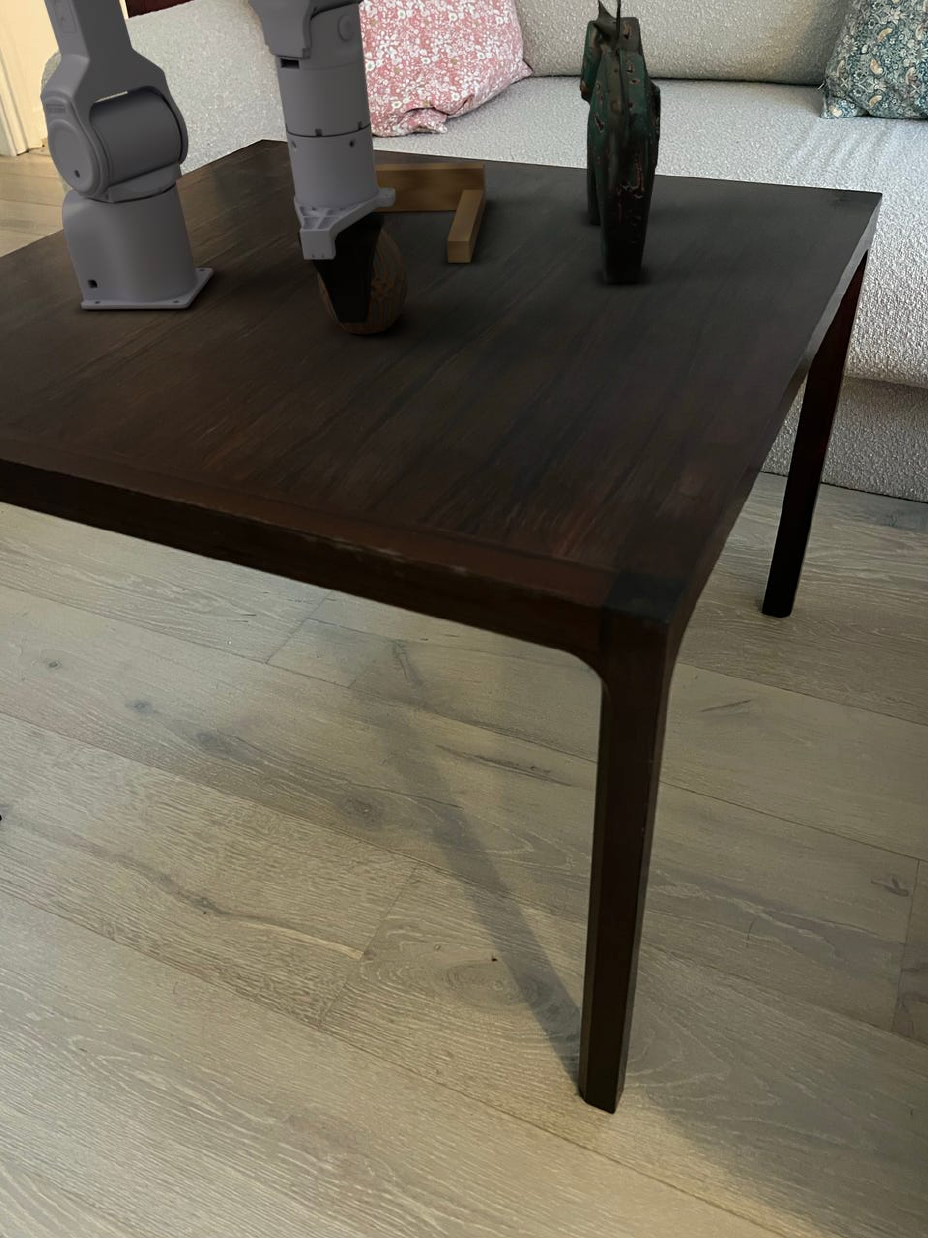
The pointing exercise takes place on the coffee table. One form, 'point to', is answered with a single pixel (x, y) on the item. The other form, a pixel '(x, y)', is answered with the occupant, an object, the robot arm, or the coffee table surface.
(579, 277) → the coffee table surface
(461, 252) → the rack
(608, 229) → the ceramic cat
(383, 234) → the vase
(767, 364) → the coffee table surface
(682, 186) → the coffee table surface
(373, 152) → the robot arm
